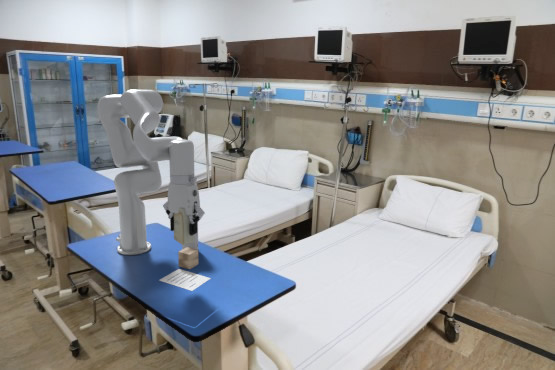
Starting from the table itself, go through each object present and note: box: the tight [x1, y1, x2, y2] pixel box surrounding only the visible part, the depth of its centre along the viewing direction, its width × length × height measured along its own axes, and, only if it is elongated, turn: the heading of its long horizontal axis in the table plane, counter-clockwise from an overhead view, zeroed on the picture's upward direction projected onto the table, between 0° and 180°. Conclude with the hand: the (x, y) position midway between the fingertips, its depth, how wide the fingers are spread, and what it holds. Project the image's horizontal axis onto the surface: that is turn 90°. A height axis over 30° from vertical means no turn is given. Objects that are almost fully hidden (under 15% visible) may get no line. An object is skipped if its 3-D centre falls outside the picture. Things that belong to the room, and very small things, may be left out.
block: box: [177, 247, 199, 270], centre depth 143 cm, size 5×5×6 cm
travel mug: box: [181, 213, 199, 251], centre depth 154 cm, size 6×7×20 cm
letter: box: [158, 268, 212, 292], centre depth 133 cm, size 14×10×1 cm
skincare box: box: [173, 208, 194, 246], centre depth 128 cm, size 6×4×12 cm
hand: (183, 231), depth 129 cm, fingers closed on skincare box, 7 cm apart
